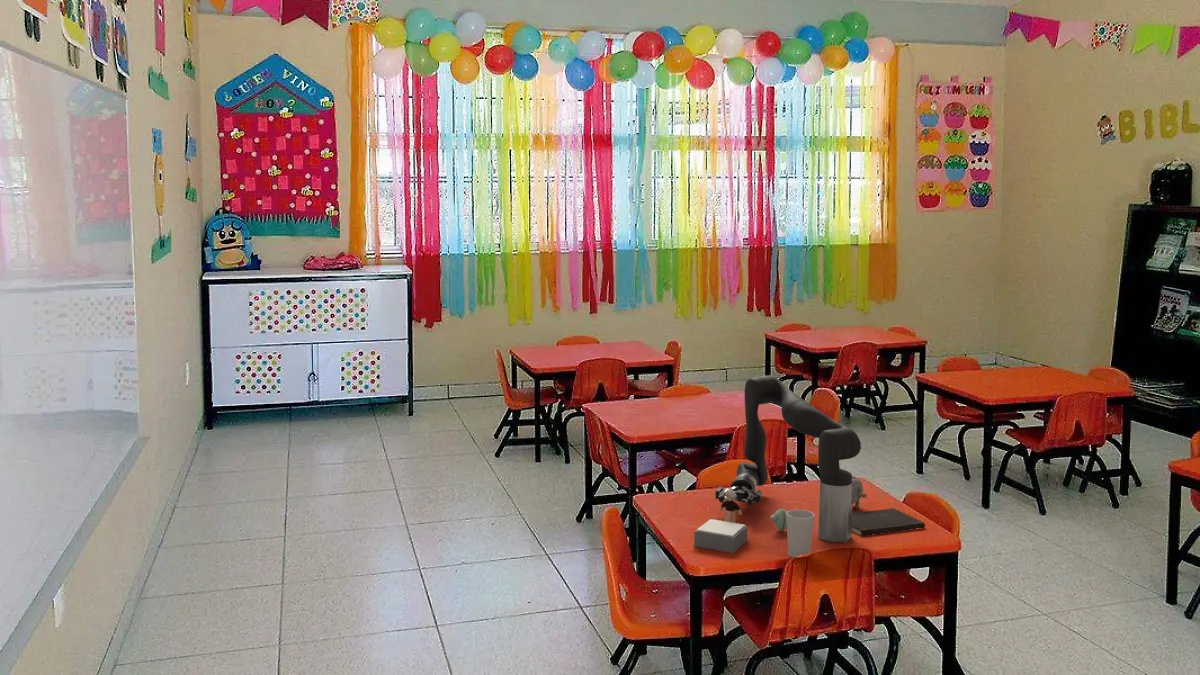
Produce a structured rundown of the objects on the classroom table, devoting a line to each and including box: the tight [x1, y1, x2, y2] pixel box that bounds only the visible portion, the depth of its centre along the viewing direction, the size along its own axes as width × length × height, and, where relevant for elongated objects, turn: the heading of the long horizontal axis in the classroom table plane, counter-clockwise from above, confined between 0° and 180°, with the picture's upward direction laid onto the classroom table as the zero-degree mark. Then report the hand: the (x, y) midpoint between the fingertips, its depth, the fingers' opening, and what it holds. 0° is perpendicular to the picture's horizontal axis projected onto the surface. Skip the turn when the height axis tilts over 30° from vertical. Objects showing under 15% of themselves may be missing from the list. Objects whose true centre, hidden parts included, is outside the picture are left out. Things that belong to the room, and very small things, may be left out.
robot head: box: [770, 508, 788, 531], centre depth 319 cm, size 8×4×7 cm, turn 104°
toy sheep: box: [851, 475, 867, 509], centre depth 343 cm, size 11×17×11 cm, turn 39°
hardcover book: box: [852, 507, 926, 537], centre depth 326 cm, size 16×23×2 cm
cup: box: [786, 509, 816, 558], centre depth 298 cm, size 8×8×12 cm
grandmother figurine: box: [719, 490, 743, 523], centre depth 319 cm, size 8×4×13 cm, turn 62°
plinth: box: [693, 518, 748, 554], centre depth 307 cm, size 12×12×5 cm
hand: (734, 500), depth 326 cm, fingers open, 8 cm apart
